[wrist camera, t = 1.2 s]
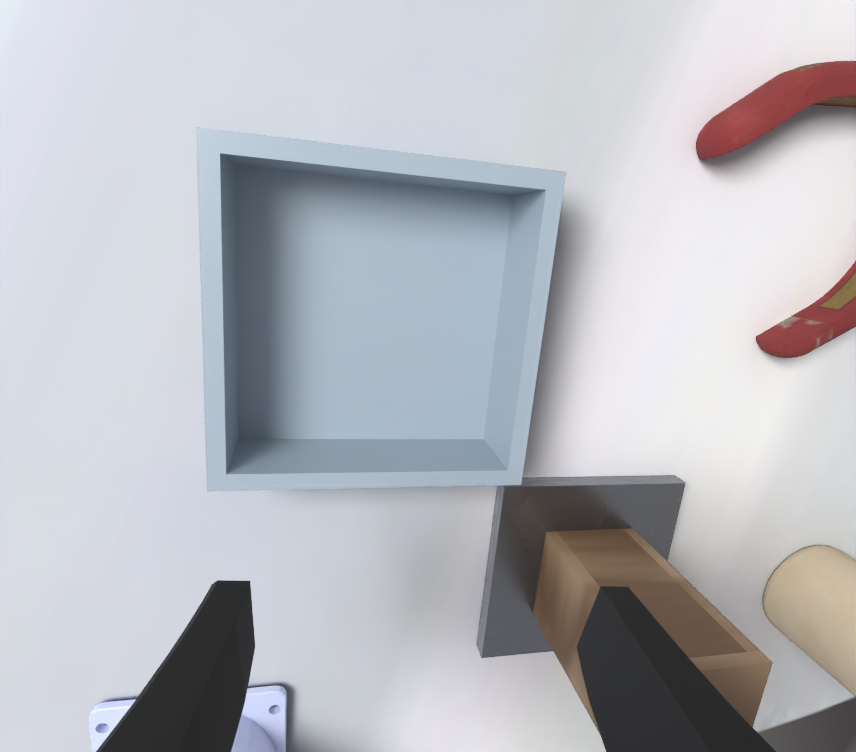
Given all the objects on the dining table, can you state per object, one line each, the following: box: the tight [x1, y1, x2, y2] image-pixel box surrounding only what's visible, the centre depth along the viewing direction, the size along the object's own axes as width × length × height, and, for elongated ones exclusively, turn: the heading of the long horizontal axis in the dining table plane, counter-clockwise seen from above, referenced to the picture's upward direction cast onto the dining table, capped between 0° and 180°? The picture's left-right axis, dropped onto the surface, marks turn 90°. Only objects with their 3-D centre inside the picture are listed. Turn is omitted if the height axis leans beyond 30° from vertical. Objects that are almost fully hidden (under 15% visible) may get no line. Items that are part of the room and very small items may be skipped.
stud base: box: [477, 475, 685, 658], centre depth 24 cm, size 9×9×3 cm
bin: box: [196, 127, 566, 491], centre depth 18 cm, size 11×11×4 cm
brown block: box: [533, 528, 773, 735], centre depth 21 cm, size 4×4×8 cm
